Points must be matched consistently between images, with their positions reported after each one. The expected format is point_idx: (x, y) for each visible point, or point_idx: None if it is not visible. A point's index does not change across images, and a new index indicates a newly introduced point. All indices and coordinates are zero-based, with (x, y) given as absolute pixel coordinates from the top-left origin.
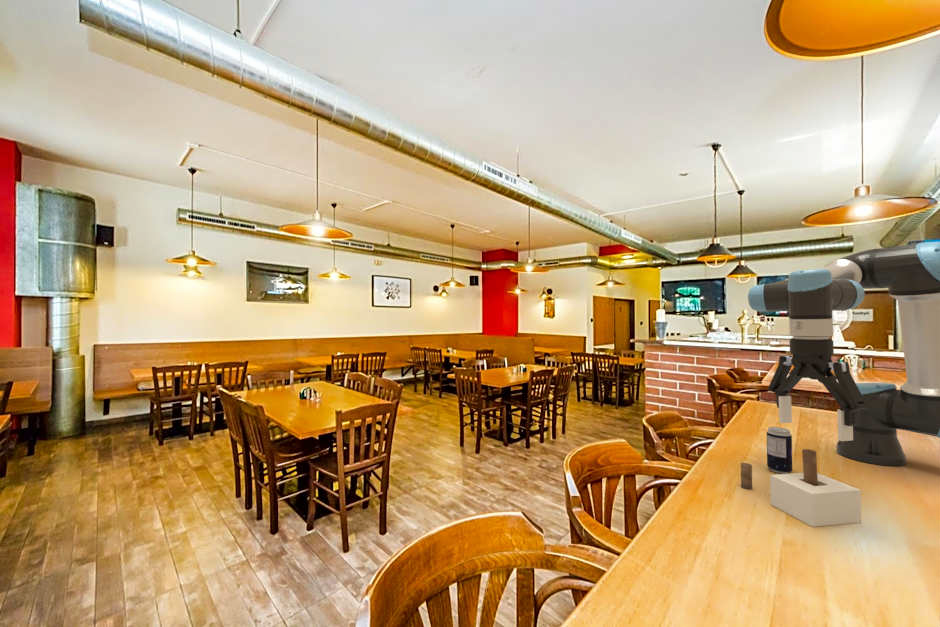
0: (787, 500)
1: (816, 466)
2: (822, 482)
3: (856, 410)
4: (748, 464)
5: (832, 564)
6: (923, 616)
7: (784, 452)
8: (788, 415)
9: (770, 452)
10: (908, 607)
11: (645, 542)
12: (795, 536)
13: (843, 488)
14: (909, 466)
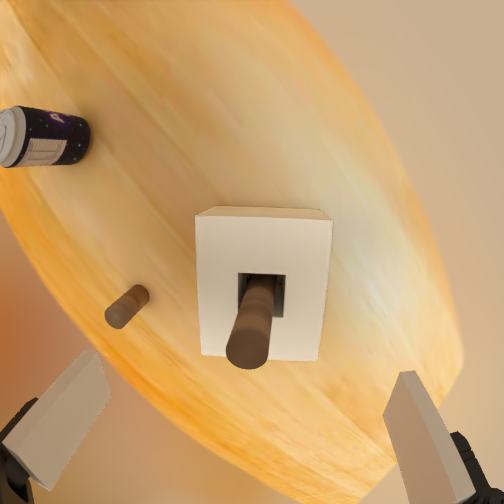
0: None
1: (270, 320)
2: (267, 272)
3: (494, 490)
4: (114, 312)
5: (386, 380)
6: (460, 367)
7: (56, 143)
8: (85, 391)
9: (44, 165)
10: (451, 368)
11: (280, 488)
12: (323, 372)
13: (314, 258)
14: None
